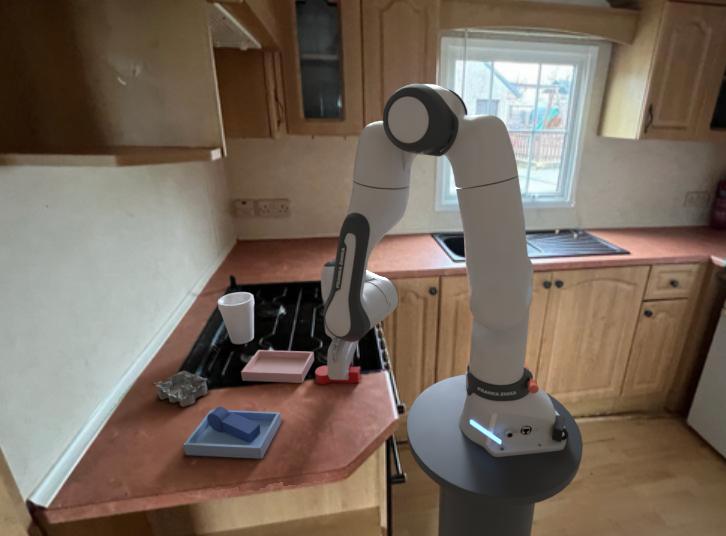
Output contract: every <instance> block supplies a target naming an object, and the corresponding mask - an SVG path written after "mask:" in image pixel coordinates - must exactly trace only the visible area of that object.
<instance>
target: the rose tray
mask: <svg viewBox="0 0 726 536" xmlns="http://www.w3.org/2000/svg"><path fill="white" fill-rule="evenodd" d="M314 362H315V353H314V351H301V350H300V351H298V350H297V351H296V350H295V351H294V350H272V349H271V350H269V349H268V350H267V349H257V351H256V352H255V354H254V355H253V356H252V357H251V359H249V361H248V362H247V363H246V365H245V366H244V367H243V368H242V370H241V371H240V374H241V380H242V381H243V382H269V383H272V382H273V383H293V384H294V383H295V384H302V383H303V382H304V380H305V379H306V376H307V375H308V373H309V371H310V369H311V367H312V366H313V363H314Z"/></svg>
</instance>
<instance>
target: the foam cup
mask: <svg viewBox="0 0 726 536" xmlns="http://www.w3.org/2000/svg"><path fill="white" fill-rule="evenodd" d="M217 307H218V310H219V312H220V314H221V317H222V320H223V323H224V326H225V328H226V331H227V334H228V337H229V340H230V343H232V344H234V345H244V344H247V343H249V342H251V341H253V340H254V338H255V297H254V294H253V293H251V292H246V291H238V292H231V293H228V294H225V295H223V296H221V297H220V298H218V300H217Z"/></svg>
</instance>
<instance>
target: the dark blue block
mask: <svg viewBox="0 0 726 536" xmlns="http://www.w3.org/2000/svg"><path fill="white" fill-rule="evenodd" d="M228 410H229V409H228V408H227V409H226V408H225V407H223V406H218V407H216V408H215V409H214V411H213V412H211V413H210V414H209V415H208V417H207V420H208V423H209V425H210V426H211V427H212V428H213V429H214V430H216V431H218V432H221V431H225V432H227V433H229V434H231V435H234V436H236V437H238V438H240V439H242V440H244V441H246V442H249V443H250V442H251V441H252V440H254V439H255V438H256V437H257V436H258V435H259V434H260V424H258V423H256V422H253V421H251V420H249V419H247V418H244V417H242V416H240V415H238V414H235V413H233V412H229V411H228Z"/></svg>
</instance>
